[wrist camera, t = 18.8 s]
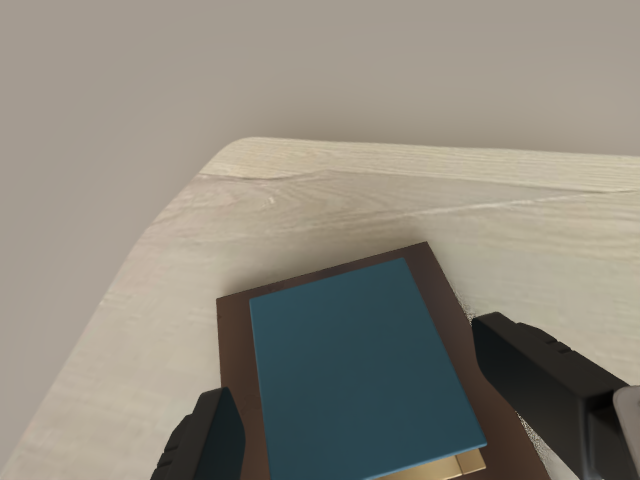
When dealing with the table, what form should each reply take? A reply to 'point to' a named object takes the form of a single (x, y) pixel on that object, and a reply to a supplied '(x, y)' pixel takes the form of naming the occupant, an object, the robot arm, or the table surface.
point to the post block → (356, 379)
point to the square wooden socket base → (457, 337)
